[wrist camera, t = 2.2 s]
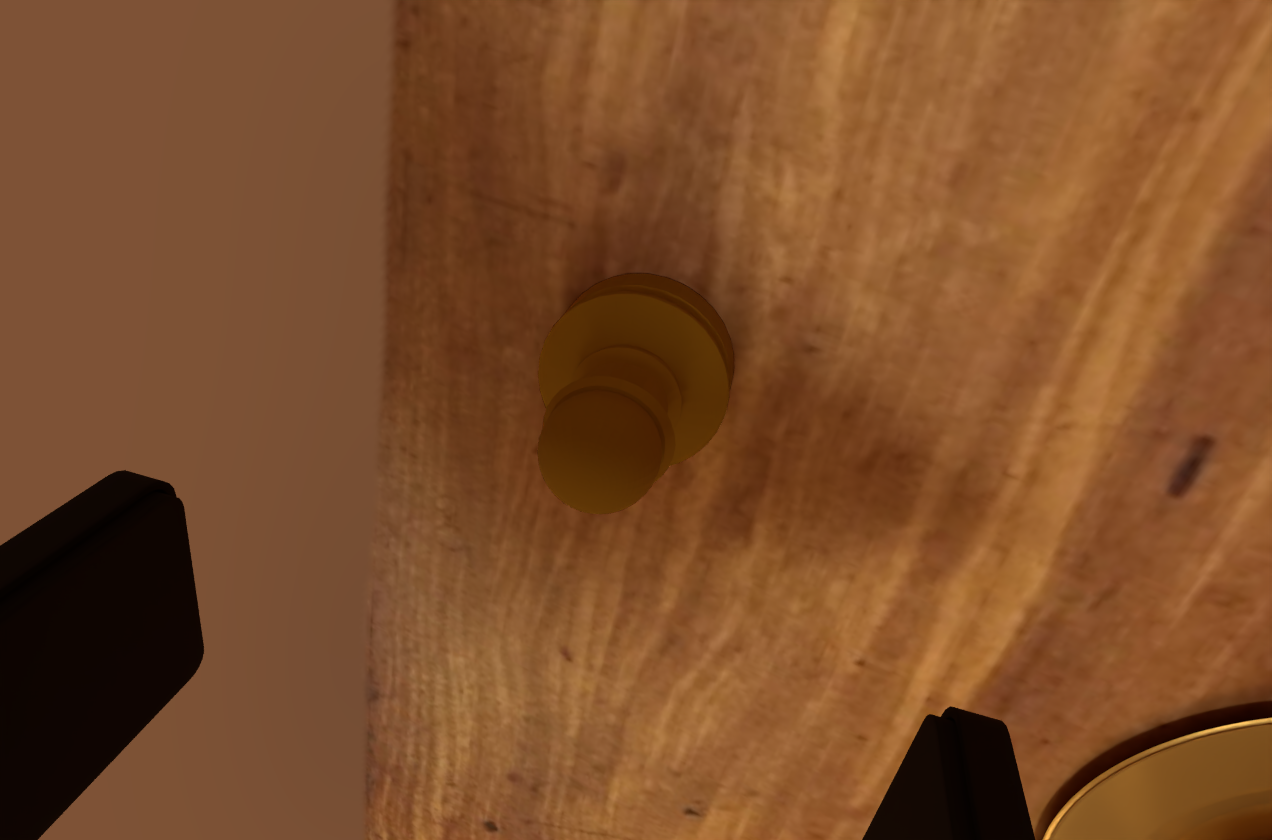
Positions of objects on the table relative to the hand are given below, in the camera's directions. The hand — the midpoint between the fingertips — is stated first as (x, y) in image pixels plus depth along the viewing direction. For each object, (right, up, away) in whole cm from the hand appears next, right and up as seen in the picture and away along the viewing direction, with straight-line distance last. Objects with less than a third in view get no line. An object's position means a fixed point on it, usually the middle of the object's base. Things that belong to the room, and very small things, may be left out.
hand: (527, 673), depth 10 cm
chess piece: (+2, +5, +8) cm, 9 cm away
